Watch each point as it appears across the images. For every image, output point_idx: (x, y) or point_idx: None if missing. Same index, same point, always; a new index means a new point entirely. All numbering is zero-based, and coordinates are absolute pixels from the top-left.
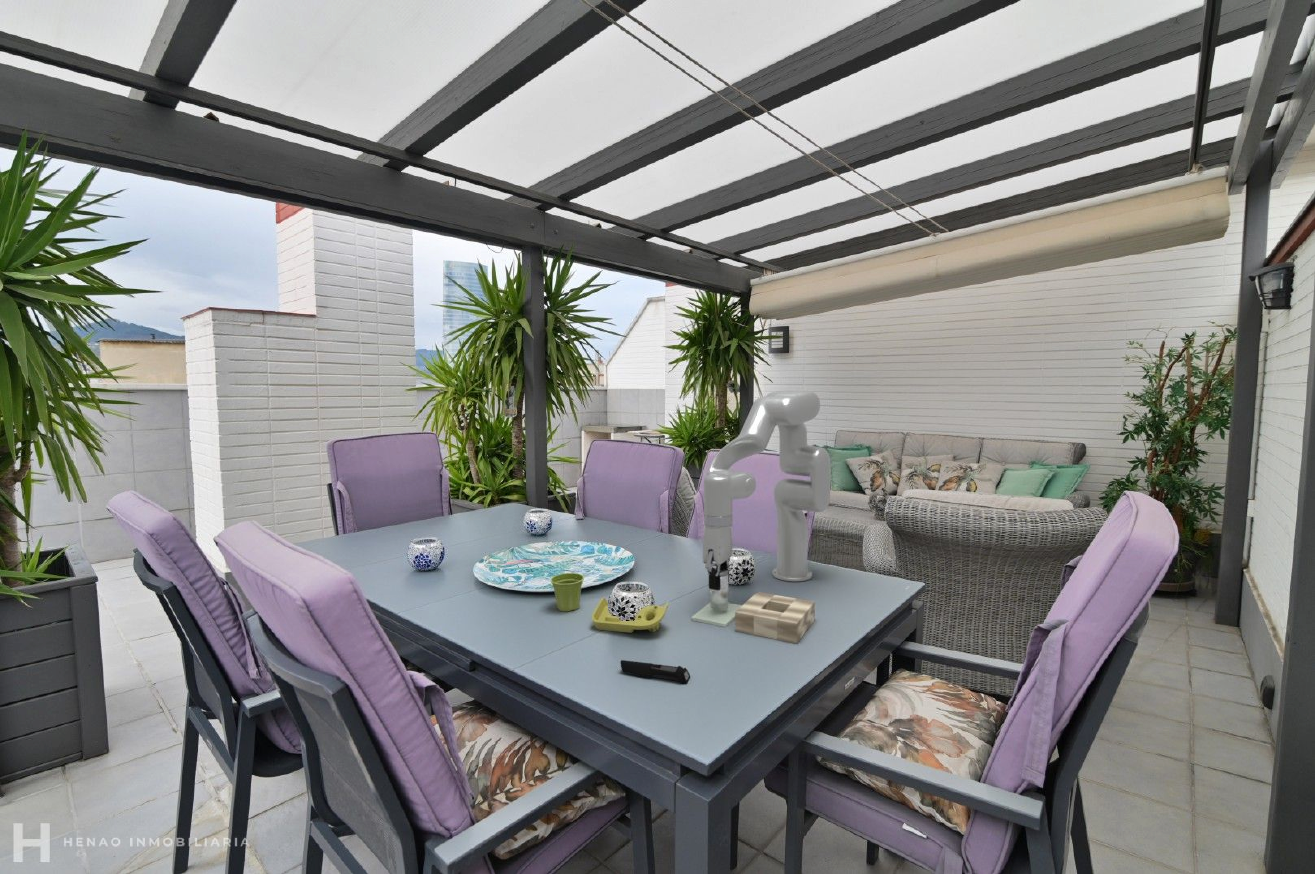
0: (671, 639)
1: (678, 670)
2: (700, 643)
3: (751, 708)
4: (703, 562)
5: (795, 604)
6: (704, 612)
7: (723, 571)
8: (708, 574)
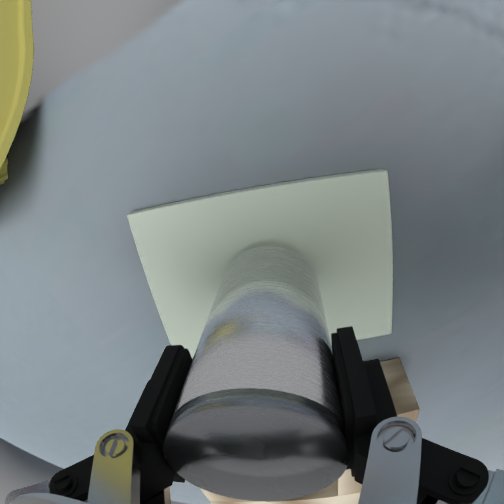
0: (7, 256)
1: None
2: (51, 335)
3: (30, 447)
4: (16, 498)
5: (347, 498)
6: (212, 230)
7: (266, 486)
8: (105, 437)
